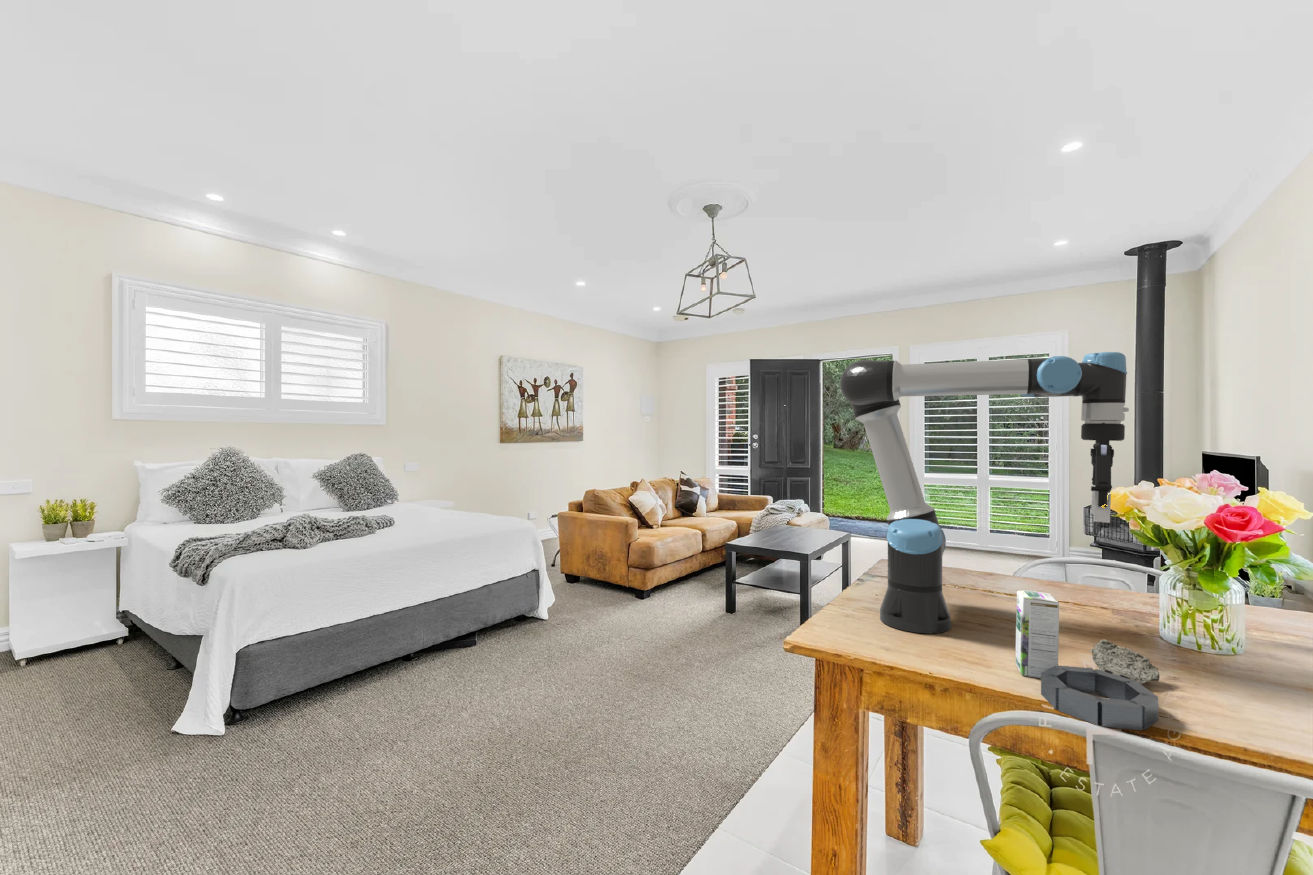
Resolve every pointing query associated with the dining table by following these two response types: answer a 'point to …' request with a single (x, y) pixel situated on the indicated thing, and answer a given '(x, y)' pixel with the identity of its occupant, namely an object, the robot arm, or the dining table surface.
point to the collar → (1123, 710)
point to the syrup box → (1036, 632)
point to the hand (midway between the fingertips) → (1100, 518)
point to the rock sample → (1124, 662)
